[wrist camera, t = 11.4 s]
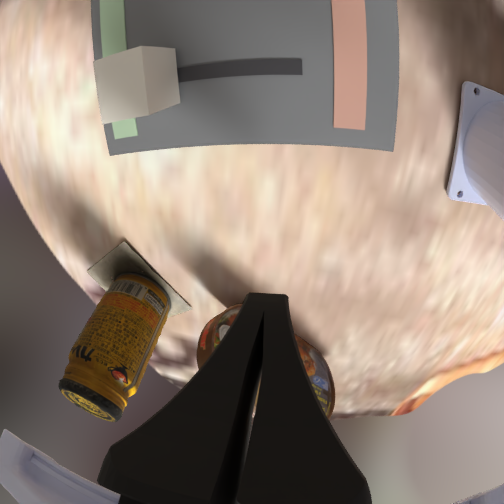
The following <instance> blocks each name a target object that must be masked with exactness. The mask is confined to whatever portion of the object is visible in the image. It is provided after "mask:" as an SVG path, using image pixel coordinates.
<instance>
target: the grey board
mask: <svg viewBox="0 0 504 504" xmlns="http://www.w3.org/2000/svg"><path fill="white" fill-rule="evenodd" d="M91 17H92V37H93V50H94V61H96V60H98V59H101V58H104V57H107V56H110V55H113V54H116V53H119V52H122V51H125V50H128V49H132V48H135V47H139V46H153V47H166V48H175V52H176V64H177V74H178V85H179V94H180V103H179V104H176V105H174V106H171V107H169V108H166V109H163V110H161V111H158V112H156V113H153V114H151V115H148V116H142V117H136V118H131V119H126V120H121V121H116V122H112V123H107V124H104V130H105V135H106V140H107V145H108V149H109V154H110V156H112V155H119V154H126V153H133V152H141V151H149V150H158V149H168V148H180V147H193V146H209V145H231V144H302V145H325V146H340V147H353V148H364V149H374V150H383V151H391V152H393V150H394V141H395V132H396V121H397V107H398V90H399V27H398V11H397V0H91Z"/></svg>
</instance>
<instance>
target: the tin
mask: <svg viewBox="0 0 504 504" xmlns="http://www.w3.org/2000/svg"><path fill="white" fill-rule="evenodd" d="M241 306H242V304H236V305H233V306H231V307H229V308H228V309H226V310H225V311H224V312H223V313H221V314H219V315H217V316H215V317H214V318H213V319H211V320H210V321H209V322H208V323H207V324H206V326H205V327H204V329H203V330H202V332H201V335H200V338H199V341H198V348H197V364H198V368H199V369H200V368H201V367H202V366H203V364H204V363H205V362H206V361H207V359H208V358H209V357H210V355H211V354H212V352H213V351H214V350H215V348H216V347H217V346H218V344H219V343H220V341H221V340H222V338H223V337H224V335H225V334H226V332H227V331H228V329H229V327H230V326H231V324H232V323H233V321H234V319H235V317H236V316H237V314H238V312H239V310H240V308H241ZM294 335H295V338H296V342H297V345H298V348H299V352H300V355H301V358H302V360H303V363H304V366H305V369H306V371H307V374H308V376H309V379H310V381H311V384H312V386H313V388H314V391H315V393H316V395H317V397H318V400H319V402H320V404H321V406H322V408H323V410H324V412H325V414H326V416H327V418H328V419H330V417H331V415H332V412H333V409H334V405H335V387H334V381H333V378H332V374H331V371H330V369H329V366H328V364H327V362H326V361H325V359H324V358H323V356H322V355H321V354H320V353H319V352H318V350H316V349H315V348H314V347H313V346H311V345H310V344H308V343H307V342H306V341H304V340H303V339H301V338H300V337H299V336H297V335H296V334H294ZM261 375H262V374H261ZM260 381H261V379H260ZM259 387H260V383H259ZM259 387H258V392H257V396H256V400H255V405H254V409H253V414H252V416H255V410H256V405H257V399H258V393H259Z"/></svg>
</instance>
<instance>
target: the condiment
mask: <svg viewBox="0 0 504 504" xmlns="http://www.w3.org/2000/svg"><path fill="white" fill-rule="evenodd" d="M142 271H143V272H142ZM87 273H88V274H89V275H90V276H91V277H92V278H93V279H94V280H95V281H96V282H97V283H98V284H99V285H100V286H101V287H102V288H103V289H104V290H105V291H106V293H105V294H104V296H103V298H102V299H101V301H100V302H99V304H98V305H97V307H96V309H95V310H94V312H93V314H92V316H91V317H90V318H89V320H88V322H87V324H86V325H85V327H84V328H83V330H82V332H81V333H80V334H79V336H78V339H77V341H76V342H75V344H74V346H73V347H72V349H71V351H70V354H69V364H68V365H67V367H66V369H65V375H64V376H63V379H61V380H60V383H59V389H60V391H61V392H62V393H63V395H64V396H65V397H67V398H68V399H69V400H70V401H71V402H73V403H74V404H75V405H77V406H78V407H80V408H82V409H84V410H85V411H87V412H89V413H90V414H93V415H95V416H97V417H99V418H101V419H104V420H107V421H112V422H113V421H114V422H117V421H118V420H119V419H120V418H121V417H122V413H123V410H124V407H125V406H126V405H127V403H128V400H127V399H128V397H130V396H132V395H133V394H135V393H136V391H137V389H138V387H139V384H140V381H141V379H142V378H143V375H144V373H145V371H146V366H147V364H148V361H149V359H150V357H151V356H152V352H153V350H154V349H155V345H156V344H157V341H158V338H159V336H160V335H161V331H162V328H163V326H164V325H165V322H166V320H167V318H169V317H172V316H174V315H178V314H181V313H183V312H186V311H189V310H191V309H192V308H191V307H190V306H189V305H188V304H187V303H186V302H185V301H184V300H183V299H182V298H181V297H180V296H179V295H178V294H177V293H175V291H174V290H173V289H172V288H171V287H170V286H169V285H168V284H166V282H165V281H164V280H163V279H161V278H160V277H159V276H158V275H157V274H156V273H155V272H153V271H152V270H151V268H150V267H149V266H148V265H147V264H146V263H145V262H144V260H143V259H142V258H141V257H140V256H139V255H138V254H136V253H135V252H134V251H133V250H132V249H131V248H130V247H129V246H128V244H127V243H126V242H125V241H124V242H122V243H121V244H120V245H118V246H117V247H116V248H115V249H113V250H112V251H111V252H109V253H108V254H107V255H106V256H105V257H103V258H102V259H101V260H100V261H99V262H98V263H96V264H95V265H94V266H93V267H92V268H90V269H89V270H88V271H87ZM111 276H112V278H113V279H111ZM112 280H113V281H114V282H112Z"/></svg>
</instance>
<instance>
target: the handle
mask: <svg viewBox="0 0 504 504" xmlns="http://www.w3.org/2000/svg"><path fill="white" fill-rule="evenodd" d="M93 63H94V72H95V80H96V88H97V95H98V102H99V108H100V114H101V120H102V125H103V124H107V123H112V122H116V121H121V120H126V119H131V118H136V117H142V116H148V115H151V114H153V113H156V112H158V111H161V110H163V109H166V108H169V107H171V106H174V105H176V104H179V103H180V94H179V85H178V74H177V64H176V52H175V48H166V47H153V46H139V47H135V48H132V49H128V50H125V51H122V52H119V53H116V54H113V55H110V56H107V57H104V58H101V59H98V60H96V61H93Z"/></svg>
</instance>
